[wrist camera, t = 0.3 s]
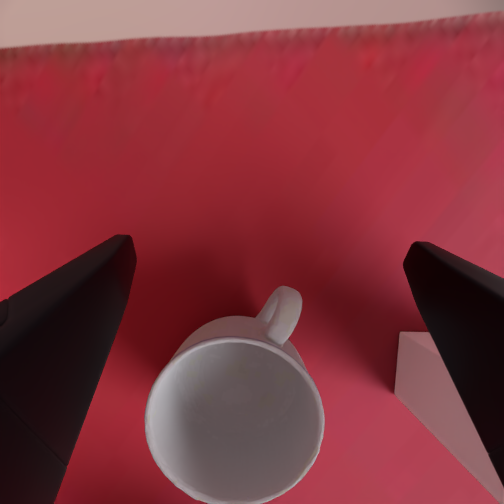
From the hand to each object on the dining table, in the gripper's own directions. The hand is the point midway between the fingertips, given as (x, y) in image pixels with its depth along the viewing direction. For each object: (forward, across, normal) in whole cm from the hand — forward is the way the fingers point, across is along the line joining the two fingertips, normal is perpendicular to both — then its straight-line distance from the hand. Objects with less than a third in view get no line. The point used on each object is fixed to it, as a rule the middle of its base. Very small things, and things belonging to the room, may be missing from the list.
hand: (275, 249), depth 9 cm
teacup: (+7, 0, +16) cm, 18 cm away
